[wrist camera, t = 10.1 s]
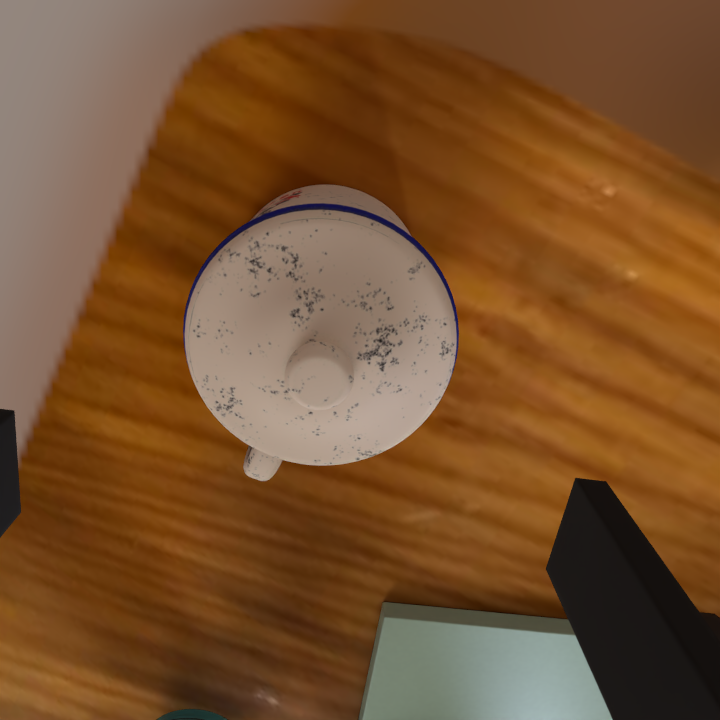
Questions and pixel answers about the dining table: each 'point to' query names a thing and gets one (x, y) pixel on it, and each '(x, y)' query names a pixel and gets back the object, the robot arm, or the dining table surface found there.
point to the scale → (477, 668)
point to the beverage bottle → (191, 715)
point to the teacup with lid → (320, 331)
